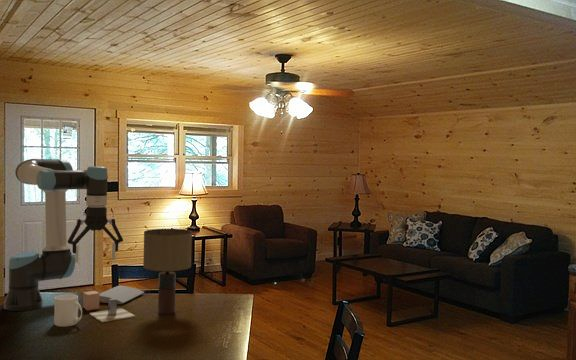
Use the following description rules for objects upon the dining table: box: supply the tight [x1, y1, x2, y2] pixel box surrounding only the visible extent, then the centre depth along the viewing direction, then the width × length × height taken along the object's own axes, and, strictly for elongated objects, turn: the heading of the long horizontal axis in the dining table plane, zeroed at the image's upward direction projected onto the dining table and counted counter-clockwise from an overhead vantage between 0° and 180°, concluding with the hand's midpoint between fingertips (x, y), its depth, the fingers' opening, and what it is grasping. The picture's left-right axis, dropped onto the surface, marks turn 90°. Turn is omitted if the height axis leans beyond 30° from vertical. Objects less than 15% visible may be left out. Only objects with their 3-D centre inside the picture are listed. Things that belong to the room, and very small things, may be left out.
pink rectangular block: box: [82, 290, 101, 311], centre depth 236 cm, size 5×5×7 cm
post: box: [107, 298, 118, 316], centre depth 225 cm, size 3×3×7 cm
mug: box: [53, 293, 83, 328], centre depth 212 cm, size 9×12×11 cm
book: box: [99, 284, 145, 305], centre depth 253 cm, size 15×23×4 cm, turn 168°
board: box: [89, 307, 136, 324], centre depth 225 cm, size 14×14×1 cm
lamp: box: [142, 228, 193, 315], centre depth 232 cm, size 20×20×35 cm
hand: (95, 260), depth 209 cm, fingers open, 13 cm apart
